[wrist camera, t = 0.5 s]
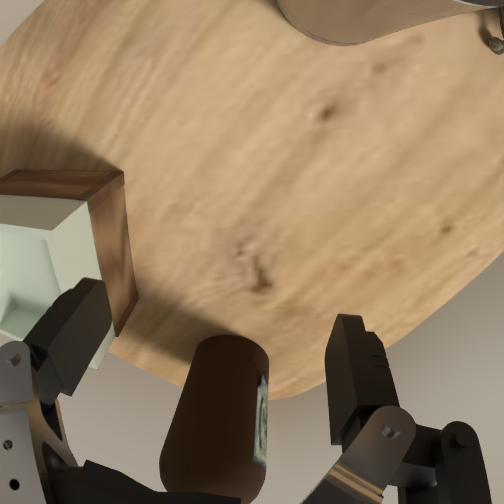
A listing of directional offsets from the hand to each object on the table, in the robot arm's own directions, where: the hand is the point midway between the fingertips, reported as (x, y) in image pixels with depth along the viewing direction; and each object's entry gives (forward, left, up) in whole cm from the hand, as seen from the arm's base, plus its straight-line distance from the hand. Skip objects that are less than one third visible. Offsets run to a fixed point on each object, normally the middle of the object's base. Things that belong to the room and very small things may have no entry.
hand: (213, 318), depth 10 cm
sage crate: (+9, -19, -12) cm, 24 cm away
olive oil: (+25, -1, -18) cm, 30 cm away
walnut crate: (+9, -20, -18) cm, 28 cm away
